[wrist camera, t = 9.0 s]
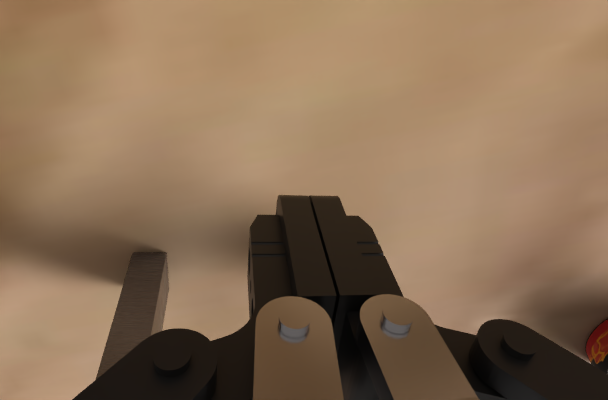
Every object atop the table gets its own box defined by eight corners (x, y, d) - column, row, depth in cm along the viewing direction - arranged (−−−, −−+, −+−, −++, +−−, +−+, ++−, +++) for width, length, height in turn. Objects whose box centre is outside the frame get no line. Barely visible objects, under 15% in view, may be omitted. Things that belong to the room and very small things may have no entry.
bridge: (132, 252, 27) (91, 393, 19) (367, 251, 30) (418, 375, 22) (136, 289, 29) (100, 433, 21) (359, 285, 32) (404, 412, 23)
